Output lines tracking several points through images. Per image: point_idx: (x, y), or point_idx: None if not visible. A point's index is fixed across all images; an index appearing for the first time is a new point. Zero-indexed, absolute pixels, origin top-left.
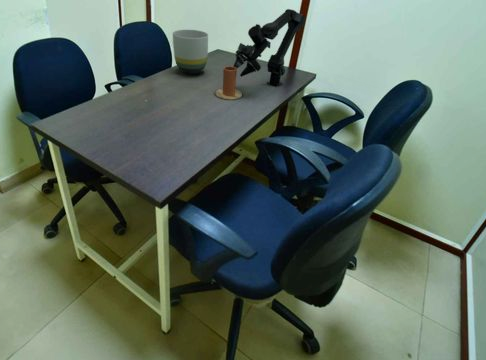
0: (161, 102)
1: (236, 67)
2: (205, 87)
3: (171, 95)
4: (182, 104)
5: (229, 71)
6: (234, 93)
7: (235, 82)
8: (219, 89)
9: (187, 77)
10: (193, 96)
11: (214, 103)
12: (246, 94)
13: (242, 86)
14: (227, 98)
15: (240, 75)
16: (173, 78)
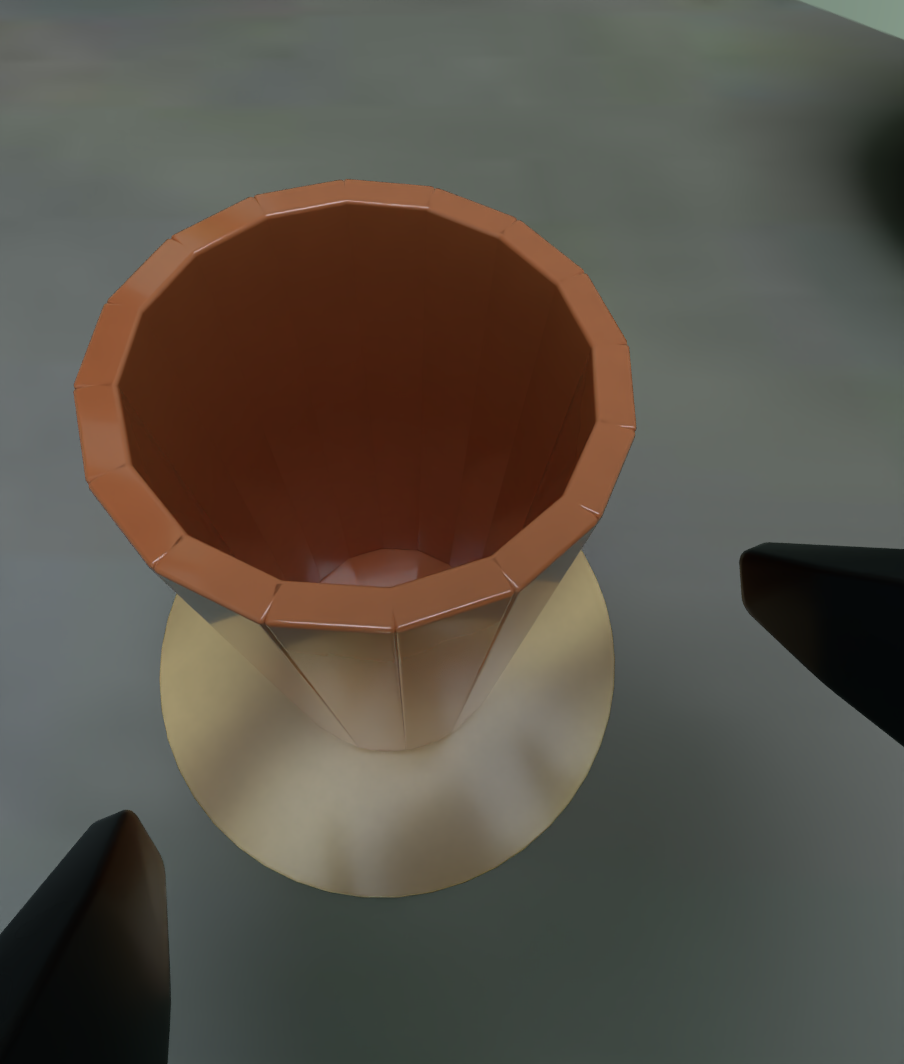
0: (154, 25)
1: (882, 692)
2: None
3: (316, 78)
4: (83, 149)
5: (109, 349)
6: (330, 732)
7: (310, 705)
8: None
9: (846, 185)
10: None
11: (56, 433)
12: (409, 1009)
13: (812, 938)
14: (182, 609)
15: (90, 833)
16: (761, 87)
